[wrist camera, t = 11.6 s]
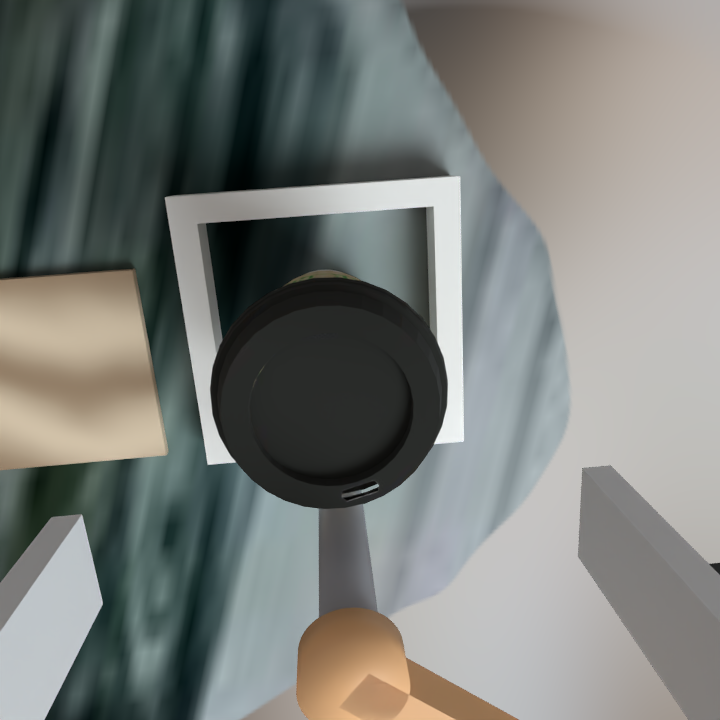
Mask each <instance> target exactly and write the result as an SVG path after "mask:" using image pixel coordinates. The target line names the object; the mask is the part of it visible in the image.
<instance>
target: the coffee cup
mask: <svg viewBox="0 0 720 720" xmlns="http://www.w3.org/2000/svg"><path fill="white" fill-rule="evenodd" d="M210 395H211V405H212V415H213V418H214V421H215V424H216V428H217V431H218V434H219V436H220V438H221V440H222V442H223V443H224V445H225V447H226V449H227V450H228V452H229V454H230V456H231V457H232V458H233V459H234V460H235V461H236V463H237V464H238V465H239V466H240V467H241V468H242V469H243V471H244V472H245V473H246V474H247V475H248V476H249V477H250V478H251V479H252V480H253V481H254V482H256V483H257V484H258V485H260V486H261V487H262V488H263V489H265V490H266V491H267V492H269V493H271V494H273V495H275V496H277V497H279V498H281V499H283V500H285V501H288V502H291V503H295V504H298V505H301V506H304V507H312V508H321V509H334V508H347V507H351V506H356V505H360V504H365V503H367V502H370V501H372V500H374V499H377V498H379V497H382V496H384V495H385V494H387V493H388V492H390V491H392V490H393V489H395V488H396V487H398V486H399V485H401V484H402V483H403V482H404V481H405V480H406V479H407V478H408V477H409V476H410V475H411V474H413V473H414V472H415V471H416V469H417V468H418V466H419V465H420V464H421V462H422V461H423V460H424V458H425V457H426V455H427V454H428V452H429V451H430V450H431V448H432V447H433V445H434V443H435V441H436V438H437V436H438V434H439V432H440V430H441V428H442V425H443V421H444V417H445V412H446V408H447V397H448V379H447V373H446V367H445V362H444V357H443V355H442V352H441V350H440V347H439V345H438V342H437V340H436V338H435V336H434V335H433V333H432V332H431V330H430V329H429V327H428V326H427V324H426V323H425V321H424V320H423V318H421V317H420V316H419V315H418V314H417V313H416V312H415V311H414V310H413V309H412V308H411V307H410V306H409V305H408V304H407V303H406V302H404V301H403V300H401V299H400V298H398V297H396V296H395V295H393V294H392V293H390V292H389V291H387V290H385V289H382V288H380V287H377V286H374V285H372V284H369V283H367V282H364V281H361V280H359V279H357V278H356V277H353V276H351V275H348V274H345V273H342V272H340V271H335V270H316V271H312V272H308V273H306V274H304V275H302V276H299V277H297V278H295V279H293V280H292V281H290V282H289V283H287V284H286V285H285V286H283V287H281V288H279V289H276V290H274V291H272V292H270V293H268V294H266V295H265V296H263V297H262V298H261V299H259V300H258V301H256V302H255V303H254V304H252V305H251V306H249V307H248V308H247V309H246V310H245V311H244V312H243V313H242V314H241V316H240V317H239V318H238V319H237V320H236V321H235V322H234V323H233V324H232V325H231V327H230V329H229V330H228V332H227V334H226V335H225V337H224V339H223V340H222V342H221V344H220V346H219V349H218V352H217V355H216V358H215V361H214V364H213V367H212V376H211V384H210ZM375 484H379V487H377V488H375V489H373V490H370V491H368V492H365V493H360V494H356V495H352V496H347V497H342V494H345V493H350V492H354V491H359V490H363V489H366V488H368V487H371V486H373V485H375Z"/></svg>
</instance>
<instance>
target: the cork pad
mask: <svg viewBox="0 0 720 720" xmlns="http://www.w3.org/2000/svg"><path fill="white" fill-rule="evenodd" d="M167 453H168V446H167V440H166V435H165V429H164V424H163V418H162V413H161V407H160V402H159V396H158V391H157V386H156V380H155V375H154V369H153V364H152V358H151V353H150V347H149V342H148V336H147V331H146V326H145V320H144V315H143V309H142V304H141V298H140V293H139V287H138V282H137V276H136V271H135V269H122V270H109V271H96V272H83V273H70V274H57V275H44V276H31V277H18V278H4V279H0V470H7V469H18V468H29V467H40V466H51V465H62V464H73V463H84V462H96V461H107V460H118V459H129V458H140V457H151V456H162V455H167Z"/></svg>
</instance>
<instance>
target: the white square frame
mask: <svg viewBox="0 0 720 720" xmlns="http://www.w3.org/2000/svg"><path fill="white" fill-rule="evenodd" d="M165 202H166V209H167V215H168V221H169V227H170V233H171V240H172V246H173V252H174V258H175V264H176V270H177V277H178V283H179V289H180V295H181V301H182V307H183V314H184V320H185V326H186V332H187V338H188V345H189V351H190V357H191V363H192V369H193V375H194V382H195V388H196V394H197V400H198V406H199V412H200V419H201V425H202V431H203V437H204V443H205V450H206V456H207V462H208V465H211V464H222V463H233V462H236V461H235V460H234V459H233V458H232V457H231V456H230V454H229V452H228V450H227V449H226V447H225V445H224V443H223V442H222V440H221V438H220V436H219V434H218V431H217V428H216V424H215V421H214V418H213V415H212V405H211V395H210V384H211V376H212V367H213V364H214V361H215V358H216V355H217V352H218V349H219V346H220V344H221V342H222V333H221V326H220V319H219V312H218V305H217V298H216V291H215V284H214V277H213V270H212V263H211V256H210V249H209V242H208V235H207V228H206V223H214V222H228V221H241V220H255V219H268V218H282V217H296V216H309V215H323V214H336V213H350V212H364V211H377V210H391V209H405V208H418V207H426V219H427V251H428V283H429V315H430V330H431V332H432V333H433V335H434V336H435V338H436V340H437V342H438V345H439V347H440V350H441V352H442V355H443V357H444V362H445V367H446V373H447V379H448V397H447V408H446V412H445V417H444V421H443V425H442V428H441V430H440V432H439V434H438V436H437V438H436V441H435V443H434V444H442V443H453V442H464V412H463V341H462V270H461V199H460V176H437V177H423V178H409V179H395V180H381V181H367V182H353V183H339V184H325V185H311V186H297V187H283V188H269V189H255V190H241V191H227V192H213V193H199V194H185V195H174V196H168V197H165ZM360 493H361V490H359V491H354V492H350V493H345V494H342V497H347V496H352V495H356V494H360ZM343 608H365V609H369V610H373V611H375V612H378V611H377V604H376V596H375V589H374V582H373V574H372V567H371V559H370V552H369V545H368V537H367V530H366V522H365V515H364V508H363V504H360V505H356V506H351V507H347V508H334V509H321V508H319V617H321V616H323V615H325V614H327V613H329V612H332V611H335V610H338V609H343Z"/></svg>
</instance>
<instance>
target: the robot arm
mask: <svg viewBox="0 0 720 720" xmlns="http://www.w3.org/2000/svg"><path fill="white" fill-rule="evenodd" d="M578 557H579V559H580V560H581V562H582V563H583V565H584V566H585V567H586V569H587V570H588V572H589V573H590V575H591V576H592V578H593V579H594V581H595V582H596V584H597V585H598V587H599V588H600V590H601V591H602V593H603V594H604V596H605V597H606V599H607V600H608V601H609V603H610V604H611V606H612V607H613V609H614V610H615V612H616V613H617V615H618V616H619V618H620V619H621V621H622V622H623V624H624V625H625V627H626V628H627V630H628V631H629V633H630V634H631V635H632V637H633V639H634V640H635V641H636V643H637V644H638V646H639V647H640V649H641V650H642V652H643V653H644V654H645V656H646V658H647V659H648V661H649V662H650V664H651V665H652V667H653V668H654V670H655V671H656V672H657V674H658V675H659V677H660V678H661V680H662V681H663V683H664V684H665V686H666V687H667V689H668V690H669V692H670V693H671V695H672V696H673V698H674V699H675V700H676V702H677V704H678V705H679V707H680V708H681V710H682V711H683V712H684V714H685V715H686V717H687V718H688V720H720V563H714V564H708V563H707V562H706V561H705V560H704V559H703V558H702V557H701V556H700V555H699V554H698V553H697V552H696V551H695V550H694V549H693V548H692V547H691V546H690V545H689V544H688V543H687V542H686V541H685V540H684V539H683V538H682V537H681V536H680V535H679V534H678V533H677V532H676V531H675V530H674V529H673V528H672V527H671V526H670V525H669V524H668V523H667V522H666V521H665V520H664V519H663V518H662V517H661V516H660V515H659V514H658V513H657V512H656V511H655V510H654V509H653V508H652V507H651V505H649V503H648V502H647V501H645V500H644V499H643V497H641V495H640V494H639V493H637V492H636V491H635V490H634V488H633V487H631V485H630V484H629V483H628V482H627V481H626V480H625V479H623V477H621V475H620V474H618V473H617V472H616V470H615V469H614V468H612V466H600V467H589V468H582V487H581V508H580V528H579V548H578ZM102 604H103V602H102V597H101V593H100V589H99V585H98V580H97V576H96V572H95V568H94V563H93V559H92V555H91V551H90V546H89V542H88V538H87V534H86V530H85V525H84V521H83V517H82V514H81V515H70V516H60V517H51V519H50V520H49V521H48V523H47V524H46V525H45V526H44V528H43V529H42V530H41V532H40V533H39V534H38V535H37V537H36V538H35V539H34V541H33V542H32V543H31V544H30V546H29V547H28V548H27V549H26V551H25V552H24V553H23V555H22V556H21V557H20V558H19V560H18V561H17V562H16V564H15V565H14V566H13V567H12V569H11V570H10V571H9V573H8V574H7V575H6V576H5V578H4V579H3V580H2V582H1V583H0V720H44V719H45V717H46V715H47V713H48V711H49V709H50V707H51V705H52V703H53V702H54V700H55V698H56V696H57V694H58V692H59V690H60V688H61V686H62V684H63V682H64V680H65V678H66V676H67V674H68V672H69V670H70V668H71V666H72V664H73V662H74V660H75V658H76V656H77V654H78V652H79V650H80V648H81V646H82V644H83V642H84V640H85V638H86V636H87V634H88V632H89V630H90V628H91V626H92V624H93V622H94V620H95V618H96V616H97V614H98V612H99V610H100V608H101V606H102Z"/></svg>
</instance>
